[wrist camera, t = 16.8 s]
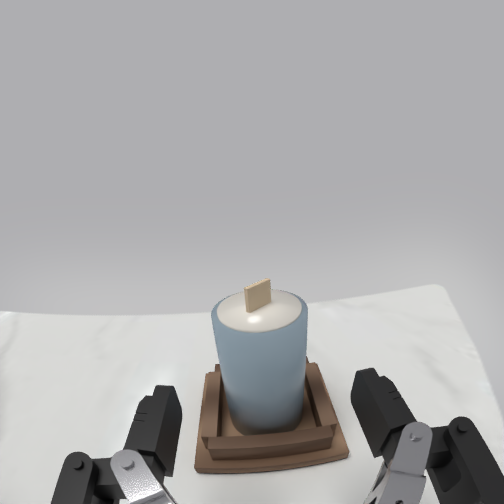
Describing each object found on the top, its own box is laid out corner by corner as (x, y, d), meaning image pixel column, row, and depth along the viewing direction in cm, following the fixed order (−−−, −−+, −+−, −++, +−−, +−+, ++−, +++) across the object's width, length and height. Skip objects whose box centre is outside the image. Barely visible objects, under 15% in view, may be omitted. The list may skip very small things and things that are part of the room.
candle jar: (265, 452, 17) (254, 320, 13) (216, 412, 21) (188, 286, 18) (316, 409, 21) (327, 279, 17) (266, 380, 25) (258, 260, 22)
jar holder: (347, 457, 16) (354, 439, 15) (196, 472, 16) (187, 456, 15) (316, 370, 27) (318, 349, 26) (207, 380, 27) (202, 359, 26)
